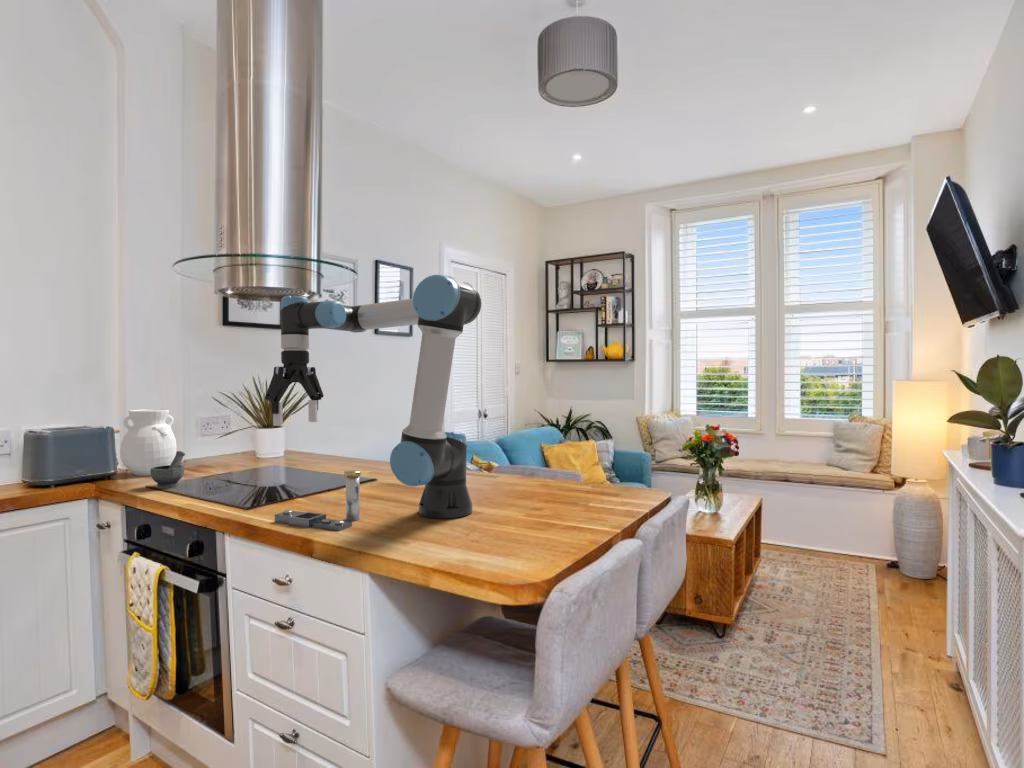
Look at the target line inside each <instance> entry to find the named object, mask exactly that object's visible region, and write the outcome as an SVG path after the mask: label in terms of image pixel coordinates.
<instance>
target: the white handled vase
mask: <svg viewBox="0 0 1024 768" xmlns="http://www.w3.org/2000/svg"><path fill="white" fill-rule="evenodd" d="M169 413H170V409H167V408H145V409H143V408H141V409H130V410H128V416H126V417H125V418H124V419H123V422H122V423H123V426H124V427H125V429H126V430H127V431H126V433H125V435H124V436H123V438H122V441H121V442H120V443H121V444H120V449H119V453H120V460H121V462H122V465H123V466H125V468H126V469H127V470H128V471H130V472H131V473H132V474H134V475H135V476H136V477H151V468H153V467H158V466H167V465H171V463H172V461H173V459H174V458H175V456H176V452H177V439H176V437H175V433H174V432H173V429H172V426H173V424H174V420H175V419H174V416H172V415H171V414H169ZM167 419H168V422H167V423H166V420H167ZM129 420H130V421H132V423H133V425H132V426H131V425H130V424H129Z"/></svg>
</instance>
